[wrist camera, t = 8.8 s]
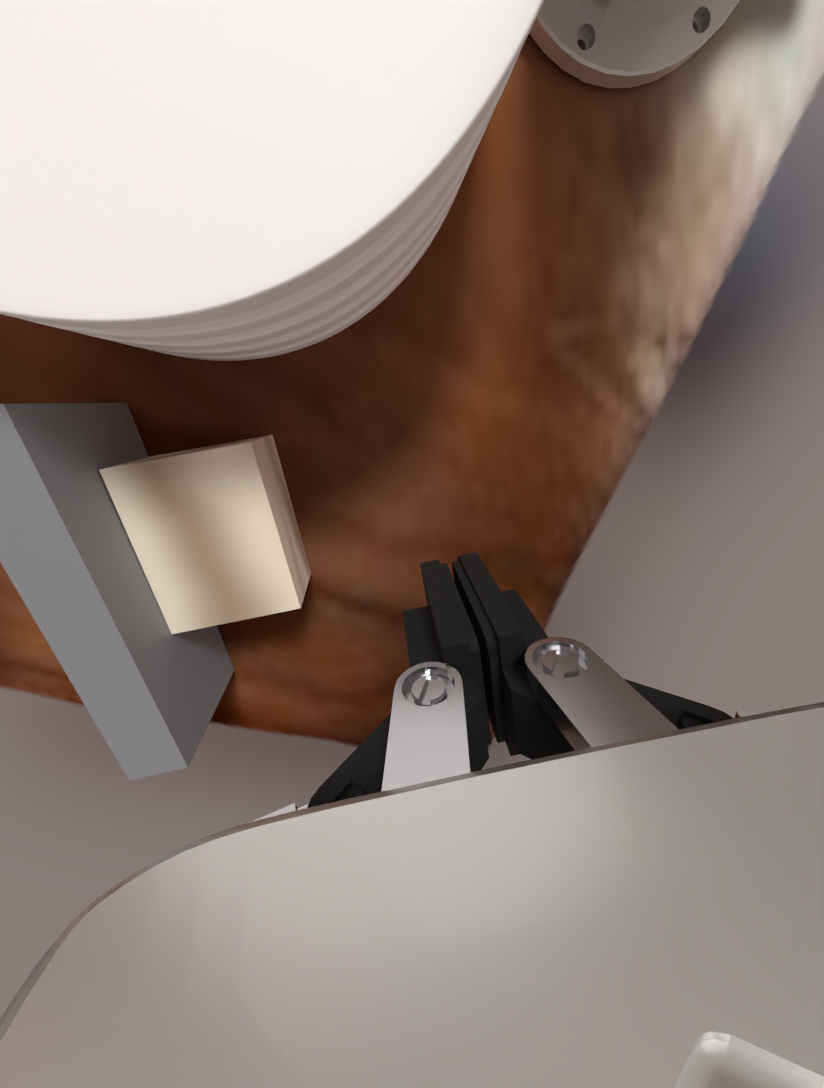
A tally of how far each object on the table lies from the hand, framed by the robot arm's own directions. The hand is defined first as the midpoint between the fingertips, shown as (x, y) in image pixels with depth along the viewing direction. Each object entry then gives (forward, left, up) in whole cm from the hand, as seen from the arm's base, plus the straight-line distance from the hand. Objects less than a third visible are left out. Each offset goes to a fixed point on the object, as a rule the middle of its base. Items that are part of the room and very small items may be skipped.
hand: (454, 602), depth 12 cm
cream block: (+10, -1, -15) cm, 18 cm away
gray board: (+16, +1, -15) cm, 21 cm away
